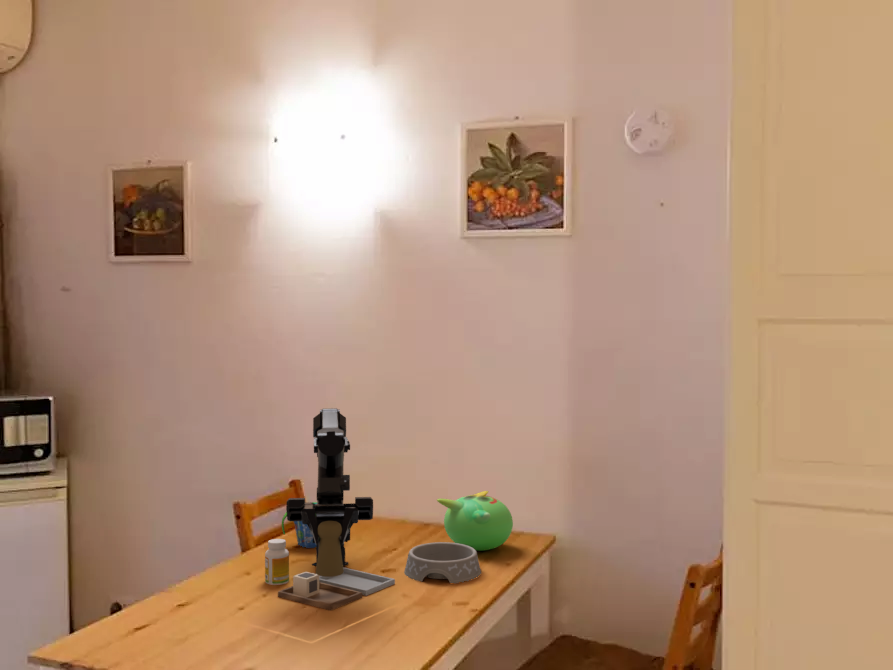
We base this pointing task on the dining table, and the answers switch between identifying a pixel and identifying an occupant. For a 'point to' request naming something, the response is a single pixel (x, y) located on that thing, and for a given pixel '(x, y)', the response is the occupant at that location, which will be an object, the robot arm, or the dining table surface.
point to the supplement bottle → (277, 562)
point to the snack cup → (302, 533)
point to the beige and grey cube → (306, 584)
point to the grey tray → (359, 581)
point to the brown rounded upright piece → (329, 550)
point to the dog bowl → (443, 562)
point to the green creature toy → (477, 521)
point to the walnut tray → (324, 596)
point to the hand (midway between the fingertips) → (329, 544)
